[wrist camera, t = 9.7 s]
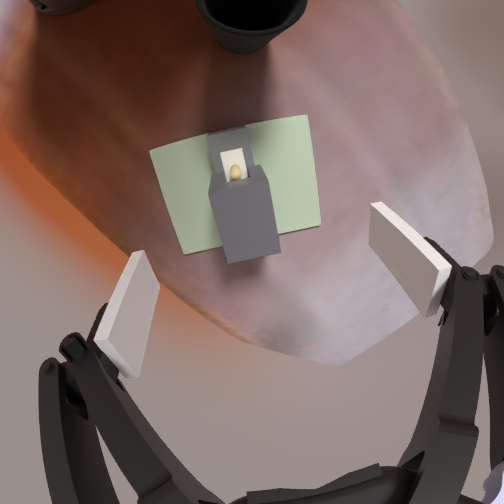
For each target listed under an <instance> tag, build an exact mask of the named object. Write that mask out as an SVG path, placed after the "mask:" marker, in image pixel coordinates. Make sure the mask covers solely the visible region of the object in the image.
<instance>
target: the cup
mask: <svg viewBox="0 0 504 504" xmlns="http://www.w3.org/2000/svg"><path fill="white" fill-rule="evenodd" d="M195 1H196V5H197V8H198V10H199V11H200V13H201V14H202V16H203V17H204V19H205V20H206V22H207V23H208V25H209V26H210V28H211V29H212V31H213V32H214V34H215V36H216V37H217V39H218V40H219V42H220V44H221V45H222V46H223V47H224V48H225V49H227V50H229V51H231V52H234V53H239V54H246V53H251V52H255V51H256V50H258V49H260V48H261V47H263V46H264V45H265V44H267V43H268V42H269V41H271V40H272V39H273V38H275V37H276V36H277V35H279V34H280V33H282V32H283V31H285V30H286V29H288V28H289V27H290V26H292V25H293V24H294V23H295V22H297V21H298V20H299V19H300V17H301V16H302V14H303V13H304V12H305V8H306V5H307V0H195Z"/></svg>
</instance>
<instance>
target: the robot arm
mask: <svg viewBox="0 0 504 504" xmlns="http://www.w3.org/2000/svg"><path fill="white" fill-rule="evenodd" d="M93 1H95V0H29V2H30V3H31V4H32V5H33V7H34V8H35V9H37V10H38V11H40V12H43V13H46V14H49V15H64V14H68V13H71V12H74V11H76V10H79V9H81V8H83V7H85V6H87V5H88V4H90V3H92V2H93ZM369 245H370V247H371V248H372V249H373V250H374V251H375V253H376V254H377V255H378V256H379V258H380V259H381V260H382V261H383V263H384V264H385V265H386V266H387V268H388V269H389V270H390V272H391V273H392V274H393V276H394V277H395V278H396V279H397V281H398V282H399V283H400V285H401V286H402V287H403V289H404V290H405V292H406V293H407V294H408V296H409V297H410V298H411V300H412V301H413V303H414V304H415V305H416V307H417V308H418V310H419V311H420V313H421V314H422V315H423V317H424V318H427V317H429V316H432V315H434V314H436V313H437V311H438V308H439V306H440V304H441V306H442V307H443V308H444V311H443V314H442V316H441V319H440V321H439V324H438V326H440V325H441V327H440V334H439V340H438V346H437V351H436V356H435V361H434V366H433V370H432V375H431V379H430V383H429V386H428V390H427V394H426V397H425V401H424V404H423V407H422V411H421V414H420V417H419V420H418V423H417V426H416V429H415V431H414V434H413V437H412V439H411V442H410V444H409V446H408V447H407V449H406V450H405V452H404V453H403V455H402V457H401V459H400V461H399V463H398V465H397V467H395V466H382V467H380V466H379V463H377V464H374V465H371V466H368V467H365V468H363V469H359V470H356V471H353V472H350V473H347V474H345V475H344V476H342V477H340V478H338V479H336V480H334V481H332V482H330V483H328V484H326V485H324V486H322V487H320V488H317V489H283V488H278V489H271V490H261V491H251V492H247V496H244V497H242V498H239V499H237V500H235V501H233V502H231V503H229V504H504V267H503V266H500V265H494V266H493V267H492V269H491V271H490V274H486V275H480V274H479V273H478V272H477V271H476V270H475V269H473V268H471V267H466V266H463V267H461V266H460V265H459V264H458V263H457V262H456V261H455V260H454V259H453V258H452V257H451V256H450V255H449V254H448V253H445V251H444V250H443V249H442V248H440V246H439V245H438V244H437V243H436V242H435V241H433V240H431V239H429V238H427V237H421V236H420V235H419V234H418V233H417V232H416V231H415V230H414V229H413V228H412V227H410V226H409V225H408V224H407V223H406V222H405V221H404V220H402V219H401V218H400V217H399V216H398V215H397V214H395V213H394V212H393V211H392V210H391V209H389V208H388V207H387V206H386V205H384V204H383V203H382V202H376V203H370V223H369ZM159 291H160V285H159V282H158V280H157V278H156V276H155V274H154V272H153V269H152V267H151V265H150V263H149V261H148V258H147V256H146V254H145V251H144V250H141V251H136V252H132V254H131V256H130V258H129V260H128V262H127V264H126V266H125V268H124V271H123V273H122V275H121V277H120V279H119V281H118V283H117V285H116V287H115V290H114V292H113V294H112V296H111V299H110V301H109V303H105V304H104V305H103V306H102V308H101V309H100V310H99V312H98V314H97V316H96V320H95V321H94V323H93V326H92V328H91V331H90V333H89V336H88V338H87V341H85V340H84V338H83V337H82V336H81V334H80V333H77V332H74V333H71V334H69V335H67V336H66V337H65V338H64V339H63V341H62V342H61V344H60V346H59V352H60V353H61V354H62V355H63V356H64V357H65V358H66V360H67V361H66V362H63V363H61V364H60V363H59V362H58V361H57V359H56V358H53V357H51V358H48V359H47V360H45V361H44V362H43V363H42V365H41V367H40V370H39V424H40V437H41V446H42V454H43V461H44V467H45V473H46V478H47V483H48V488H49V492H50V496H51V500H52V504H120V503H119V501H118V498H117V496H116V493H115V490H114V488H113V485H112V482H111V479H110V476H109V473H108V470H107V467H106V464H105V461H104V457H103V453H102V450H101V446H100V442H99V438H98V435H97V430H96V427H97V429H98V431H99V433H100V434H101V436H102V438H103V440H104V442H105V444H106V446H107V447H108V449H109V451H110V453H111V454H112V456H113V458H114V459H115V461H116V463H117V464H118V466H119V468H120V469H121V471H122V472H123V474H124V475H125V477H126V478H127V480H128V481H129V483H130V484H131V486H132V487H133V489H134V490H135V491H136V493H137V495H138V497H139V499H138V501H137V503H138V504H225V503H224V502H223V501H222V500H221V499H219V498H218V497H217V496H216V495H214V494H213V493H212V492H210V491H209V490H207V489H206V488H205V487H204V486H202V484H201V483H200V482H198V480H196V478H195V477H194V476H193V475H192V474H191V473H190V472H189V471H188V470H187V469H186V468H185V467H184V466H183V464H182V463H181V462H180V461H179V460H178V459H177V458H176V456H175V455H174V454H173V453H172V452H171V450H170V449H169V448H168V447H167V446H166V444H165V443H164V442H163V441H162V439H161V438H160V437H159V436H158V434H157V433H156V432H155V431H154V429H153V428H152V427H151V425H150V424H149V422H148V421H147V420H146V418H145V417H144V416H143V414H142V413H141V411H140V410H139V409H138V407H137V406H136V404H135V403H134V401H133V400H132V398H131V397H130V395H129V393H128V392H127V390H126V389H125V387H124V386H123V384H122V382H121V381H120V380H119V379H118V374H119V371H120V373H121V374H122V375H123V376H124V377H125V378H139V376H140V371H141V366H142V361H143V356H144V352H145V348H146V342H147V338H148V334H149V330H150V326H151V322H152V318H153V314H154V310H155V306H156V302H157V298H158V295H159ZM498 310H499V312H498ZM483 354H484V360H485V366H486V374H487V382H488V393H489V405H490V464H491V473H490V475H489V477H488V478H487V479H486V480H485V481H484V483H483V489H484V491H486V493H485V496H484V498H483V500H482V501H481V502H480V501H477V500H474V499H472V498H469V497H467V496H464V495H462V494H460V493H461V491H462V488H463V486H464V483H465V480H466V477H467V474H468V471H469V468H470V465H471V462H472V458H473V455H474V451H475V448H476V444H477V440H478V434H479V430H478V427H477V426H475V424H474V421H475V414H476V409H477V404H478V398H479V391H480V383H481V374H482V361H483ZM95 425H96V426H95Z"/></svg>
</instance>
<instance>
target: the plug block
mask: <svg viewBox="0 0 504 504" xmlns="http://www.w3.org/2000/svg"><path fill="white" fill-rule="evenodd" d="M248 172H249V176H250V177H248V178H243V179H239V180H234V181H230V182H227V181H226V177H225V173H224V172H222V173H218V174H214V175H212V176H211V181H210V186H209V190H208V196H209V200H210V203H211V207H212V210H213V214H214V217H215V221H216V224H217V228H218V231H219V235H220V238H221V242H222V245H223V249H224V252H225V256H226V259H227V262H228V264H231V263H235V262H240V261H245V260H249V259H254V258H259V257H263V256H268V255H273V254H277V253H281V249H280V243H279V237H278V231H277V225H276V219H275V214H274V208H273V202H272V197H271V191H270V186H269V181H268V178H267V176H266V175H265V173H264V171H263V169H262V167H261V165H260V164H259V165H254V166H249V167H248Z"/></svg>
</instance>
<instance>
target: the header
mask: <svg viewBox="0 0 504 504" xmlns="http://www.w3.org/2000/svg"><path fill="white" fill-rule="evenodd" d="M149 152H150V156H151V159H152V162H153V165H154V169H155V172H156V175H157V178H158V181H159V185H160V188H161V191H162V194H163V197H164V200H165V203H166V206H167V209H168V212H169V215H170V217H171V220H172V223H173V226H174V229H175V232H176V234H177V237H178V240H179V243H180V245H181V248H182V251H183V253H184V255H185V254H189V253H194V252H198V251H202V250H207V249H211V248H216V247H221V246H223V245H222V242H221V238H220V235H219V231H218V228H217V224H216V221H215V217H214V214H213V210H212V207H211V203H210V200H209V196H208V190H209V186H210V181H211V176H212V175H214V174H218V173H222V172H224V173H225V177H226V181H227V182H230V181H234V180H239V179H243V178H248V177H250V176H249V172H248V167H249V166H254V165H259V164H260V165H261V167H262V169H263V171H264V173H265V175H266V176H267V178H268V181H269V186H270V191H271V197H272V202H273V208H274V214H275V219H276V225H277V231H278V234H281V233H285V232H290V231H295V230H300V229H304V228H309V227H314V226H319V225H321V220H320V209H319V199H318V190H317V181H316V173H315V165H314V157H313V150H312V143H311V136H310V130H309V123H308V117H307V115H300V116H293V117H286V118H279V119H273V120H267V121H262V122H256V123H251V124H246V125H241V126H236V127H232V128H227V129H223V130H219V131H215V132H210V133H206V134H203V135H199V136H195V137H191V138H188V139H184V140H181V141H177V142H174V143H170V144H167V145H164V146H161V147H158V148H155V149H151V150H149Z"/></svg>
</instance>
